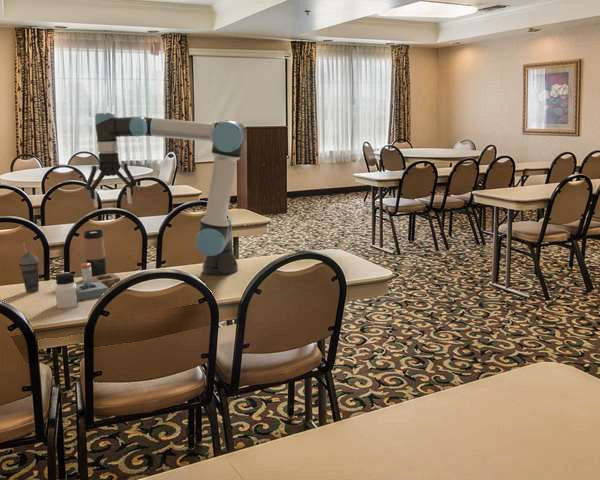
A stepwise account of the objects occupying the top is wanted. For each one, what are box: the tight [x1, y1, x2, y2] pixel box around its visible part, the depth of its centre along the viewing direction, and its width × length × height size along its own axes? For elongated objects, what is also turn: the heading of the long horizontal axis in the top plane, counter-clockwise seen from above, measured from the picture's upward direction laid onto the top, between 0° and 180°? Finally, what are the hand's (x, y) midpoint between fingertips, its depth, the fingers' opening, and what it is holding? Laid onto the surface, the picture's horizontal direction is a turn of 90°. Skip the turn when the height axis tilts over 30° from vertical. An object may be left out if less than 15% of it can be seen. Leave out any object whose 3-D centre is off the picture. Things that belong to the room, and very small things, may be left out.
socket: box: [76, 281, 109, 302], centre depth 241 cm, size 12×12×3 cm
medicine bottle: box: [54, 271, 79, 310], centre depth 227 cm, size 7×7×12 cm
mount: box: [92, 273, 121, 288], centre depth 254 cm, size 10×10×3 cm
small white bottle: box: [80, 262, 93, 290], centre depth 240 cm, size 4×4×12 cm
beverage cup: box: [18, 241, 40, 294], centre depth 246 cm, size 7×7×20 cm
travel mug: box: [83, 229, 107, 277], centre depth 265 cm, size 8×8×20 cm
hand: (113, 205), depth 253 cm, fingers open, 13 cm apart
